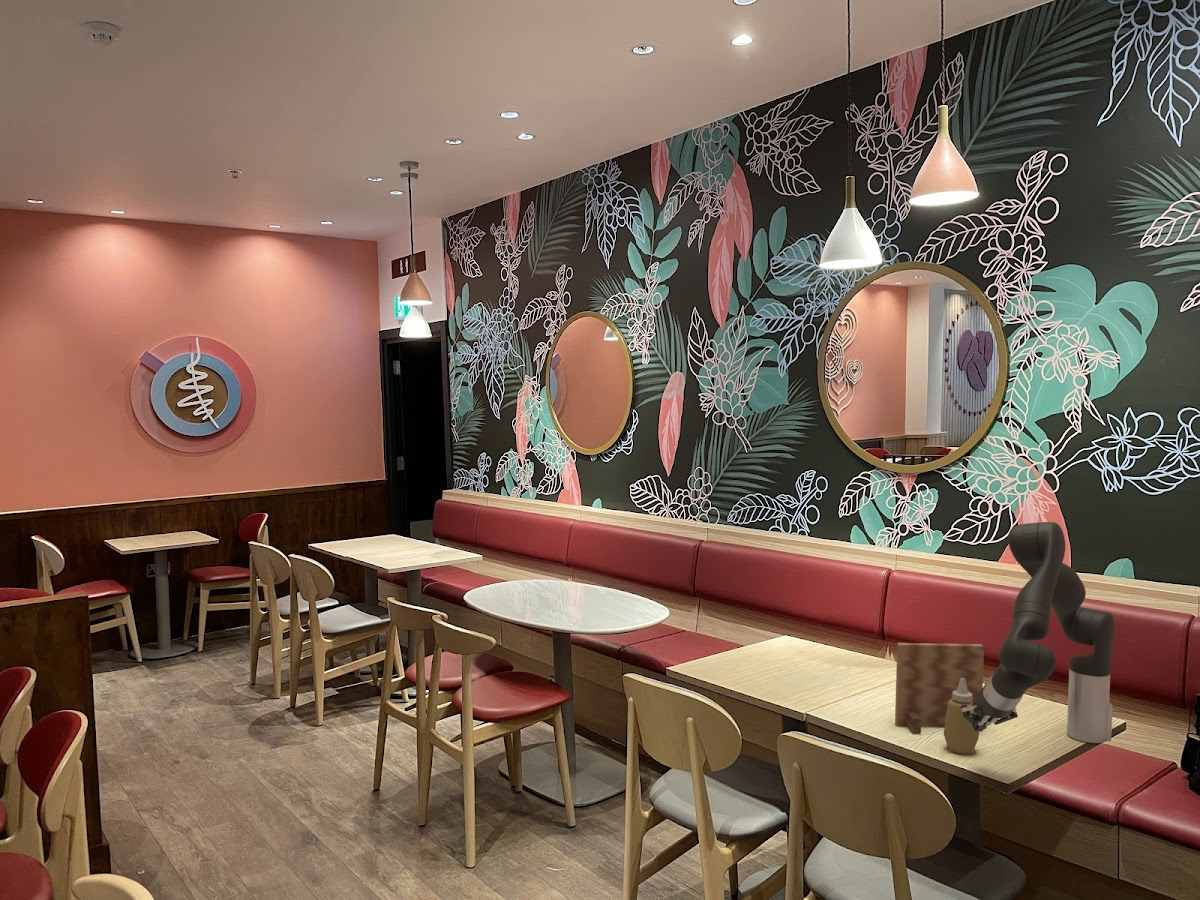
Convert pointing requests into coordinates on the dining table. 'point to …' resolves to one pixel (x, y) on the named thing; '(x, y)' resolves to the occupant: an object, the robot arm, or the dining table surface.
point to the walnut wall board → (933, 681)
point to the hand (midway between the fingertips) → (977, 727)
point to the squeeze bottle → (959, 722)
